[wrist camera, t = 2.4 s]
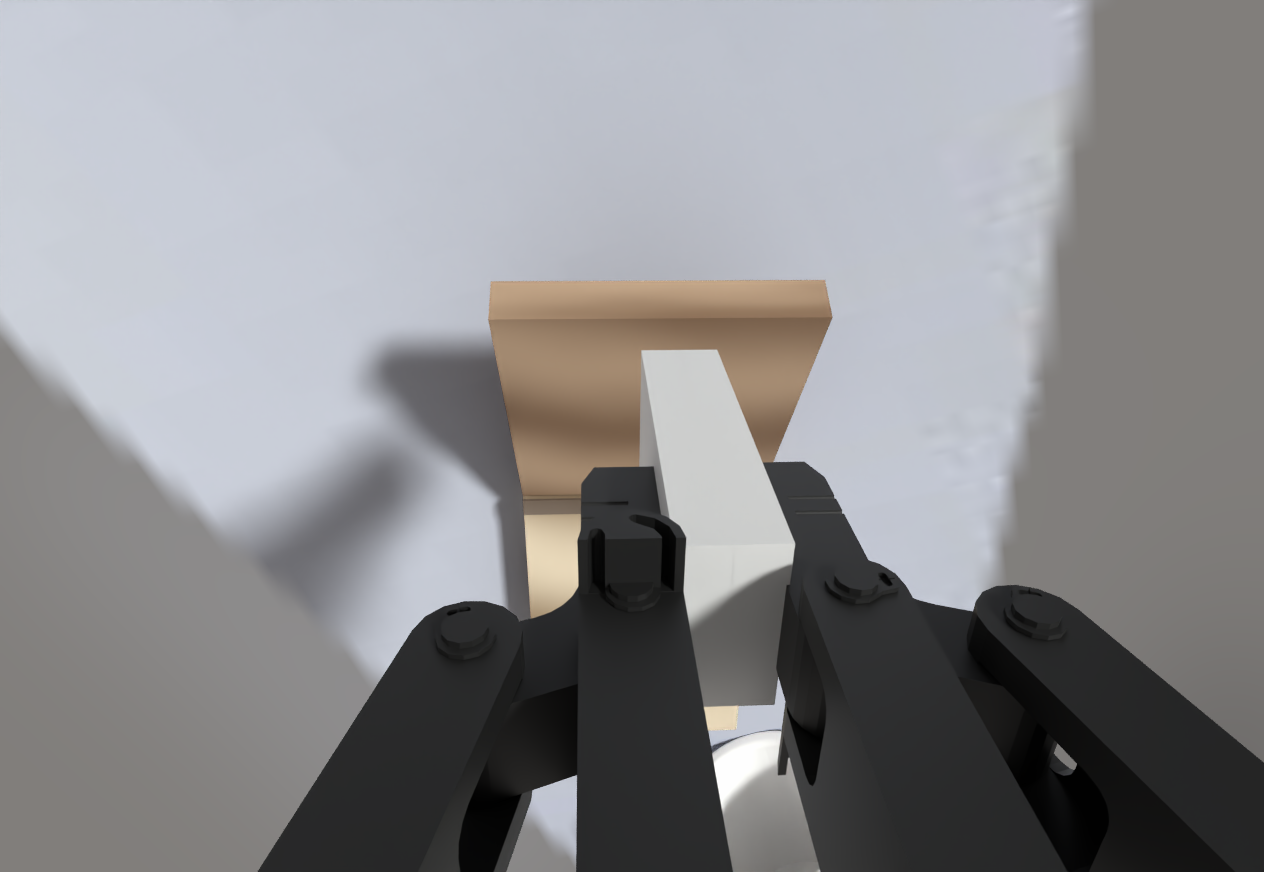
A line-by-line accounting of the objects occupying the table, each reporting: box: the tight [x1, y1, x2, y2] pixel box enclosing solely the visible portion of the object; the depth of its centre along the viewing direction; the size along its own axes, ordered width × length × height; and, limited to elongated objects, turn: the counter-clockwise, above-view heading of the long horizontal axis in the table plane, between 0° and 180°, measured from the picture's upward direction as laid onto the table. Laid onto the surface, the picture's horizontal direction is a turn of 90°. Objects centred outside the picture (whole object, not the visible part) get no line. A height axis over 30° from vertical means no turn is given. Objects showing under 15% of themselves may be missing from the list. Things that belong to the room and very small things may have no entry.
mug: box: [712, 731, 820, 872], centre depth 35 cm, size 12×10×8 cm
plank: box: [488, 280, 832, 496], centre depth 24 cm, size 10×8×1 cm
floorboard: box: [523, 495, 739, 730], centre depth 32 cm, size 12×8×2 cm
